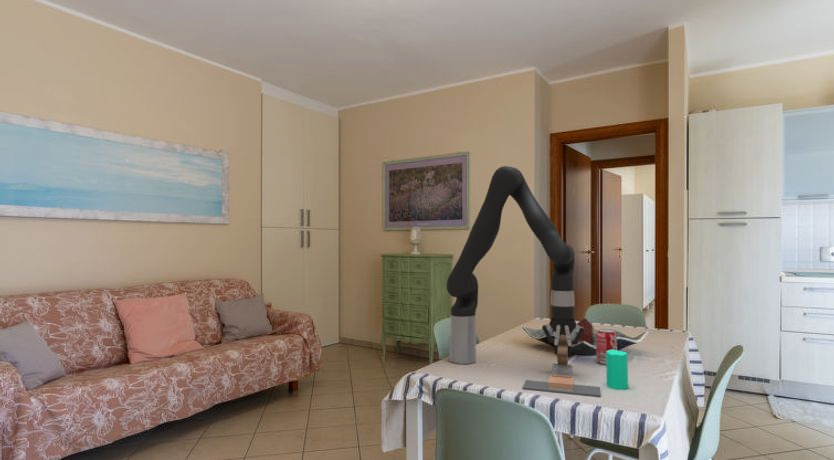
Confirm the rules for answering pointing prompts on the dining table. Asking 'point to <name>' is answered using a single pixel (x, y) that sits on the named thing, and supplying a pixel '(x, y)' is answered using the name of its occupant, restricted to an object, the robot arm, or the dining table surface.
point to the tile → (561, 383)
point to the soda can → (605, 343)
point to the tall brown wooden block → (562, 360)
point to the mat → (576, 391)
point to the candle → (617, 369)
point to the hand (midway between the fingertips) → (563, 356)
